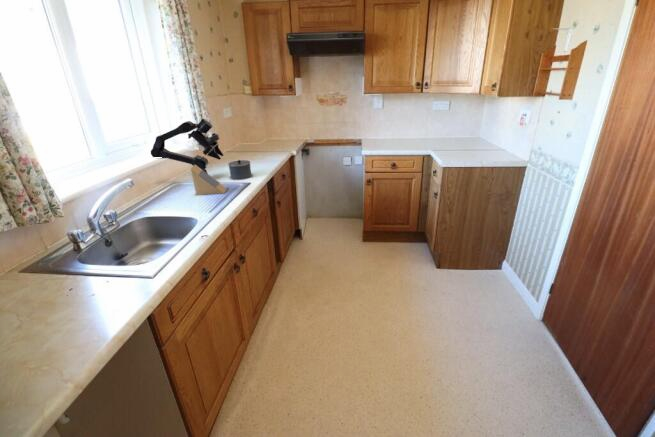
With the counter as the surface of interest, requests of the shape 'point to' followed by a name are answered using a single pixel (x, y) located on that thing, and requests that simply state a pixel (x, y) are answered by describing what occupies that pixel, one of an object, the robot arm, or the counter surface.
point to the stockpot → (240, 169)
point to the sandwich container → (205, 182)
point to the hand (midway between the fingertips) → (221, 157)
